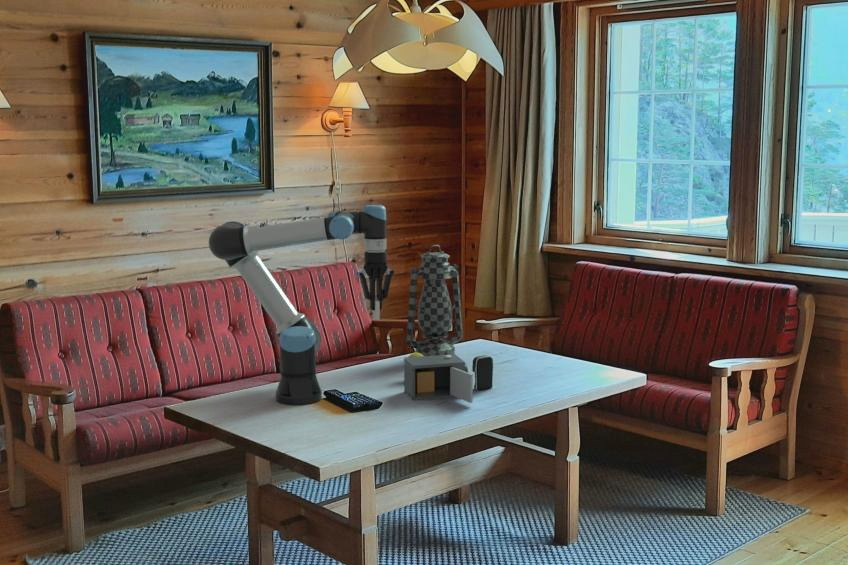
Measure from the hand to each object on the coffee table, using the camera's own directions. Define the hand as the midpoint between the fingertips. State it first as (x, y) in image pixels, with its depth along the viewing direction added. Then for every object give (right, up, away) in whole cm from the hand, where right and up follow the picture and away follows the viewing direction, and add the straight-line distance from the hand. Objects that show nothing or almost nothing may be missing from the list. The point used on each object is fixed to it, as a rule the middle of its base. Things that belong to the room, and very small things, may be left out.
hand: (376, 319), depth 348 cm
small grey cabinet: (+21, -25, -4) cm, 33 cm away
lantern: (+21, -18, +42) cm, 50 cm away
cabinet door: (+29, -26, -14) cm, 41 cm away
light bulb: (+14, -22, +15) cm, 30 cm away
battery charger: (+36, -24, +3) cm, 44 cm away
